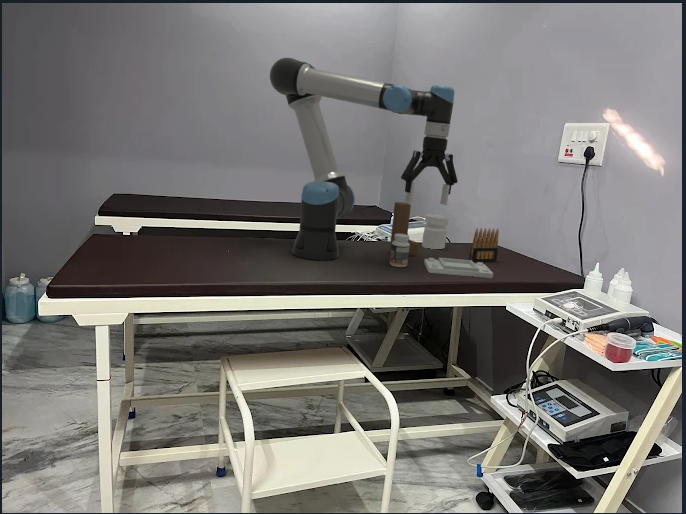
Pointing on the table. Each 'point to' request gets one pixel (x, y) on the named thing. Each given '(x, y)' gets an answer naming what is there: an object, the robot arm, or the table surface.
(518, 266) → the table surface
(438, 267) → the base plate
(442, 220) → the white lidded jar
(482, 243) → the ammunition clip
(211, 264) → the table surface
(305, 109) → the robot arm
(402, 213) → the wooden block
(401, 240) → the pill bottle
